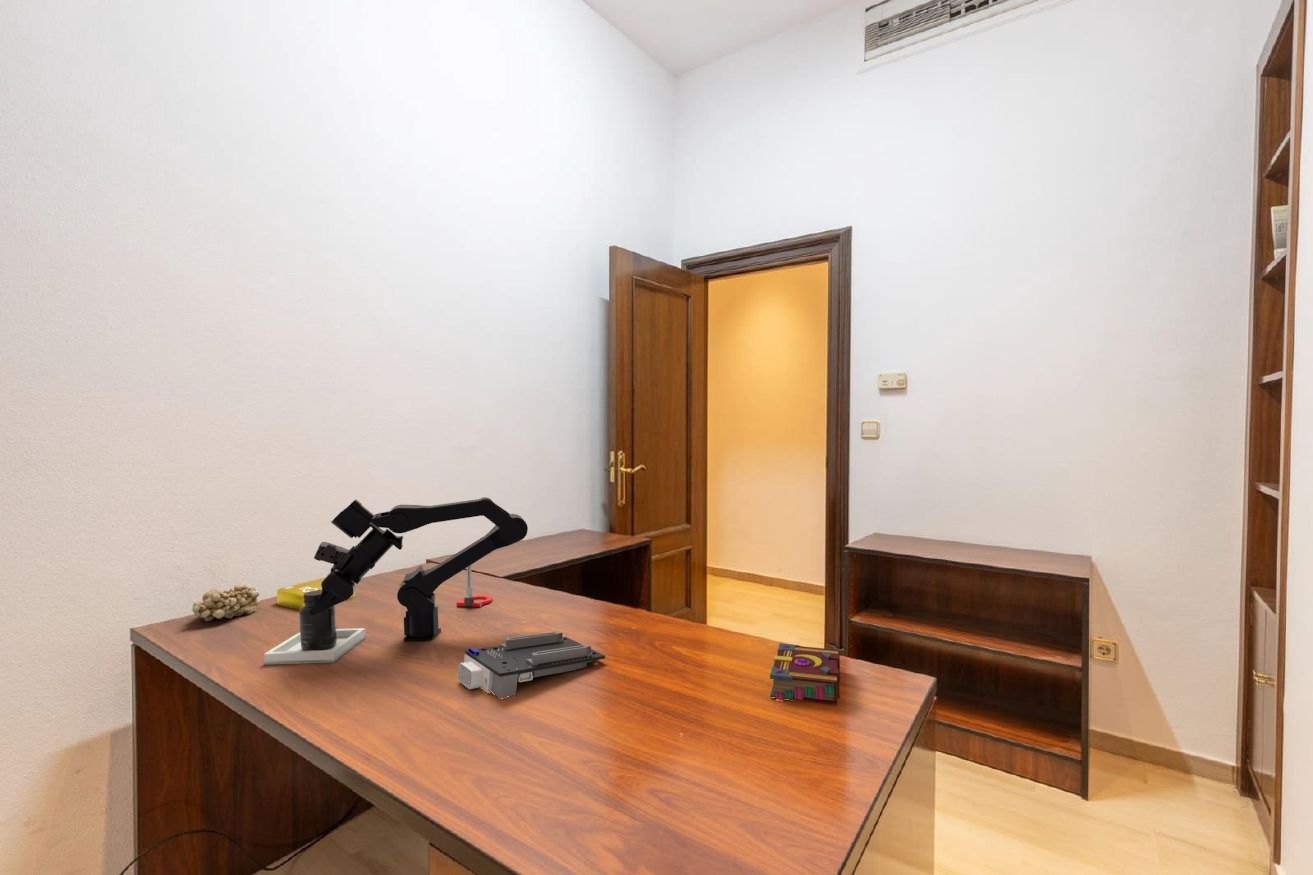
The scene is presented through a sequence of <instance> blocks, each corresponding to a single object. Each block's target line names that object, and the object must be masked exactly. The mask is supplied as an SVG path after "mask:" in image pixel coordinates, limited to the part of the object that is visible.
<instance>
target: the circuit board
mask: <svg viewBox="0 0 1313 875" xmlns="http://www.w3.org/2000/svg"><path fill="white" fill-rule="evenodd" d="M605 659H606V655H605V654H604V653H603V654H602V653H601V652H599V651H596V650H594V649H592V645H591V646H590V645H586V644H582V643H580V642H578V641H576V640H573V639H572V638H569V637H567V636H563V632H559V631H551V632H542V633H536V634H526V635H520V636H512V637H510V636H509V637H506V638H505V642H504V643H500V645H496V646H489V647H488V646H487V647H482V648H475V647H473V646H471V647H468V649H467V650H464V659H463V662H460V663H458V667H457V668H458V670H457V674H456V679H457V681H458V682H460V683H461V685H463V686H465V688H467V689H468V690H472V689H477V688H479V687H480V688H482V689H483V690H484V691H486V692H487V693H489V692H491V691H492V692H493V693H494V694H495V695H496V696H498V697H499V698H500V699H501V698H505V697H507V696H511V695H513V696H515V695H514V694H516V695H517V688H518V687H517V686H518V682H519V683H523V682H529V681H533V679H534V678H539V677H543V676H550V675H555V674H560V673H561V674H562V673H565V672H566V673H567V672H571V671H577V670H576V669H578V668H580V669H583V668H586V667H587V664H588V663H592V662H593V661H594V662H595V661H600V660H605ZM578 670H579V669H578ZM480 688H479V689H480ZM483 690H482V691H483ZM484 691H483V692H484ZM487 693H486V694H487ZM489 694H490V693H489ZM495 695H494V696H495ZM496 696H495V697H496ZM511 697H512V696H511ZM499 698H498V699H499ZM500 699H499V700H500ZM505 699H506V698H505Z"/></svg>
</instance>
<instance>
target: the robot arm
mask: <svg viewBox="0 0 1313 875" xmlns="http://www.w3.org/2000/svg"><path fill="white" fill-rule="evenodd" d="M481 516H483V517H485V518H486V519H488V521H490V522H491V523H492V524H494V527H492V528H491V529H490V530H489V532H487V533H486V534H485V535H483V536H482V537H480V538H479V539H477V540H476V541H474V542H472V543H471V544H469V545H467V546H466V547H464V548H463V549H461V550H460V551H458V552H455V553H454V554H453V555H451V556H449V557H448V558H446V559H445V560H443V561H441V562H440V563H439V564H437V565H435V566H433V567H432V568H427V569H425V570H424V567H423V566H422V565H420V566H418V567H417V568H416V569H415V570H414V571H412V572H409V573H406V574H404V575H405V576H404V578H403V579H402V580H401V582H400V584H399V587H398V591H397V595H396V596H397V597H396V598H397V601H398V603H399V604H400V605H401V606H402V607H405V608H406V611H405V616H404V617H403V635H404V637H403V641H404V642H410V641H411V642H414V641H415V642H416V641H432V640H434V639H435V638H436V636H437V635H438V634H439V633H440V632H442V628H441V627H439V606H435V605H436V593H434V592H435V591H436V590H437V589H438V588H439V587H440V585H442V584H443V583H445V582H446V581H448V580H450V579H451V578H453V577H454V576H456V575H457V574H459V573H460V572H462V571H463V570H465V569H467V567H468V566H470V565H471V566H472V565H473V564H474V563H476V562H478V561H479V560H481V559H483V558H485V557H487V555H490V554H491V553H492V552H494V551H495V550H498V549H502V548H505V547H509V546H511V545H514V544H516V543H518V542H520V541H523V539H525V538H526V537H527V534H528V530H529V529H528V528H529V527H528V524H527V522H526V521H525V519H524V518H523V517H522V516H521V515H519V514H517V513H509V512H508V511H507V510H506V509H504V508H503V507H501V506H500V505H498V504H497V503H496V502H494V501H493V500H492V499H491V498H490V497H481V498H478V499H477V498H476V499H471V500H470V499H469V500H463V501H456V502H448V503H442V504H441V503H440V504H435V505H420V504H398V505H395V506H393V507H392V508H391V509H390V510H389V511H384V512H378V513H375V514H373V513H372V512H371V511H370V510H368V509H367V508H366V507H365V506H364V505H363V504H362V503H361V502H360V501H359V500H358V499H354V500H353V501H352V502H350V504H349V505H347V507H345V508H344V509H343V510H342V511H340V512H339V513H338V514H337V516H336V515H335V517H334V518H333V520H331V521H330V523H331V524H332V525H333V526H335V528H337V529H339V530H340V531H341V532H343V533H344V534H345V535H346V536H347V537H349V538H350V539H353V538H355V539H357V538H358V539H360V538H361V537H362V536H363V535H364V534H366V532H367V531H368V530H369V529H370V528H372V529H371V530H370V531H369V532H368V533H367V534H366V535H365V536H364V537H363V538H362V539H361V540H360V541H359V542H358V543H357V544H356V545H353V546H352V547H351V548H349V549H347V548H345V547H343V546H340V545H337V544H334V543H330V542H327V541H321V543H320V544H319V545H318V548H317V550H316V552H315V554H314V556H313V559H314V560H316V561H319V562H320V561H322V562H326V563H328V564H332V565H333V566H332V567H331V568H330V572H329V573H328V574H327V575H326V577H324V578H325V579H324V580H323V581H322V583H321V586H322V593H321V595H320V596H319V598H318V599H317V601H316V602H315V603H314V605H313V606H312V608H311V609H310V611H309V612H308V613H309V614H310V615H312V616H313V615H315V614H317V613H319V612H322V611H324V610H326V609H328V608H330V607H332V606H336V605H338V604H340V603H344V602H345V601H348V600H350V599H351V598H350V597H351V596H352V595H353V593H354V591H355V592H356V584H357V585H358V584H359V583H360V582H361V581H362V579H363V577H364V576H365V575H366V574H367V573H368V572H369V571H370V570H372V569H373V568H374V567H375V566H376V564H377V563H378V561H379V560H380V559H381V558H383V556H384V555H385V554H387V552H388V551H390V549H391V548H392V547H393V546H394V547H395V548H397V549H398V550H402V549H403V546H404V545H403V539H404V536H403V535H400V536H399V535H396V534H404V533H408V532H410V531H414V530H417V529H420V528H422V527H424V526H427V525H430V524H434V523H443V522H449V521H454V520H461V519H468V518H475V517H481ZM382 528H383V529H385V530H383V529H382ZM349 598H350V599H349Z"/></svg>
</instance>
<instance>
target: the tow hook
mask: <svg viewBox="0 0 1313 875" xmlns="http://www.w3.org/2000/svg"><path fill="white" fill-rule="evenodd" d="M465 590H466V591H465V593H466V594H465V596H464V597H462V598H461V599H459V601H458V600H457V602H456V607H457V608H471V609H472V608H482V606H483V605H487V604H490V603H492V602H493V601H494V600H493V597H492V596H490V595H485V594H484V595H481V594H479V595H473V587H472V565H470V566H468V567H467V568H466V587H465ZM475 600H477V601H475Z"/></svg>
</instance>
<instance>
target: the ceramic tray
mask: <svg viewBox="0 0 1313 875" xmlns="http://www.w3.org/2000/svg"><path fill="white" fill-rule="evenodd" d="M336 634H337V642H336V644H335V645H334V646H333V647H331V648H329V649H326V650H320V651H303V650H302V649H301V639H300V631H299V632H298V633H296V634H294V635H292V636H291V637H289V638H288V639H286V640H285V641H283V642H281V643H279V644H277V645H276V646H274V647H273V648H271V649H270V650H268V651H266V652H265V653H264V654H263V659H264V665H265V666H266V665H292V664H293V665H294V664H297V665H299V664H300V665H301V664H328V663H331V664H333V663H335V662H336V661H337V660H339V659H340V658H341V657H343V656H344V655H345V654H347V653H348V652H349V651H350V650H351V649H353V648H355V647H356V646H357V645H358V644H359V643H361V642H362V641H363V640H365V639H366V627H365V628H363V627H362V628H359V627H358V628H336Z"/></svg>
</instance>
